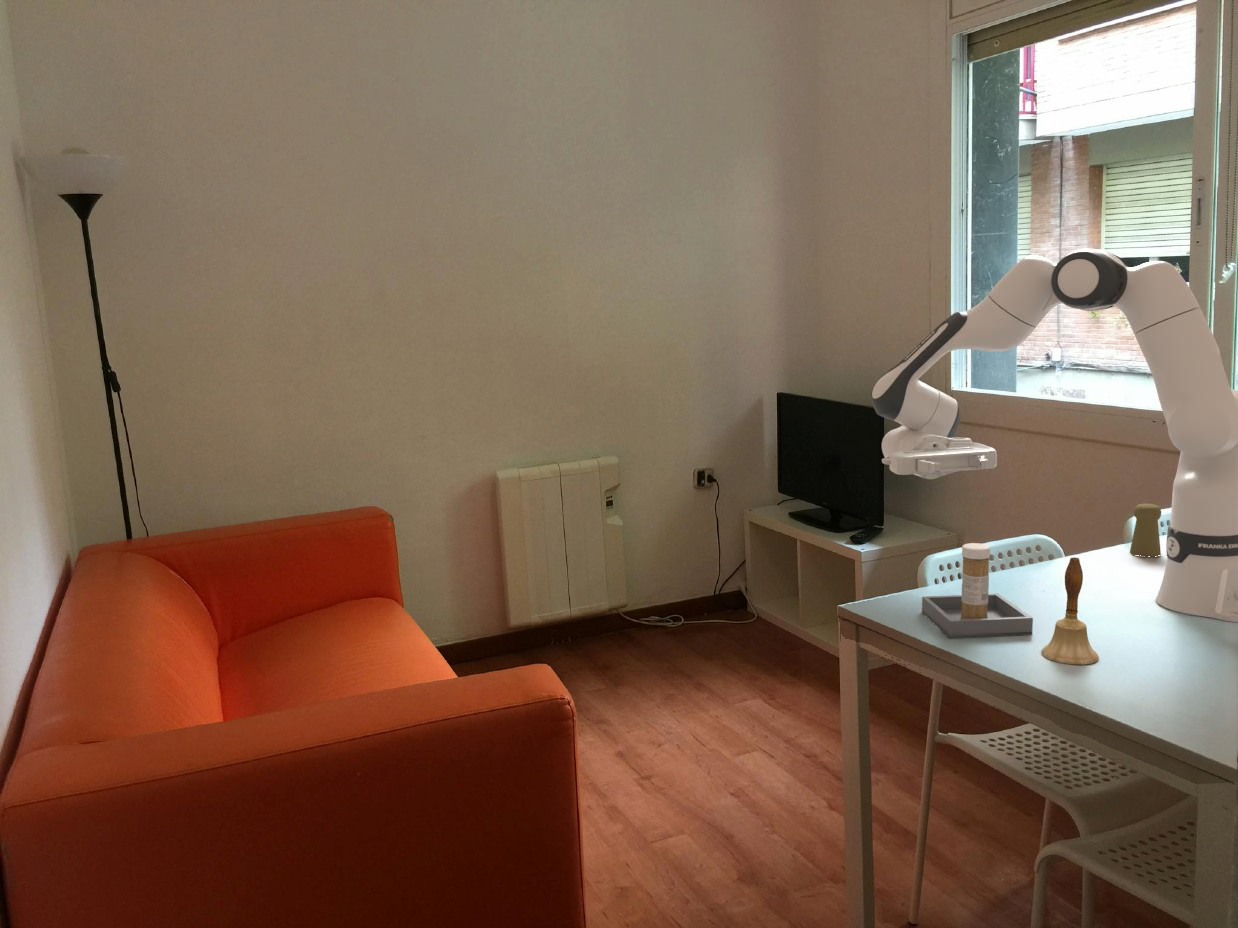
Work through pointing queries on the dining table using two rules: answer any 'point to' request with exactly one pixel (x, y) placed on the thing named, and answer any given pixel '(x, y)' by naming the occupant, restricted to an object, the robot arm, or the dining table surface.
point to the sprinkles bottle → (975, 580)
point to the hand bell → (1071, 625)
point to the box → (999, 622)
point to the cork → (1146, 531)
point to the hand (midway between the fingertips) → (960, 466)
